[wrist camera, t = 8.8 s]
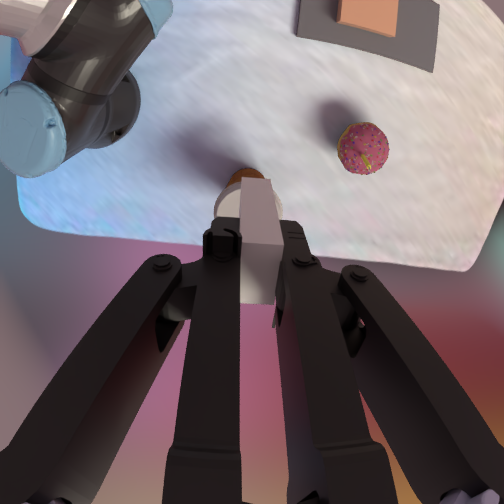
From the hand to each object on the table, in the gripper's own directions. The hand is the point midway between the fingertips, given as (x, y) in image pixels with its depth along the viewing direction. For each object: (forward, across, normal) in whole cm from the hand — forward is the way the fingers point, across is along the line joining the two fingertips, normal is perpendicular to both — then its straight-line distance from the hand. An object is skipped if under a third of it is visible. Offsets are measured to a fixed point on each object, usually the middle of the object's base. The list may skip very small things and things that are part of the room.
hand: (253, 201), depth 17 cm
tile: (+32, +21, +21) cm, 43 cm away
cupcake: (+35, +18, -2) cm, 39 cm away
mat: (+34, +18, +21) cm, 44 cm away
